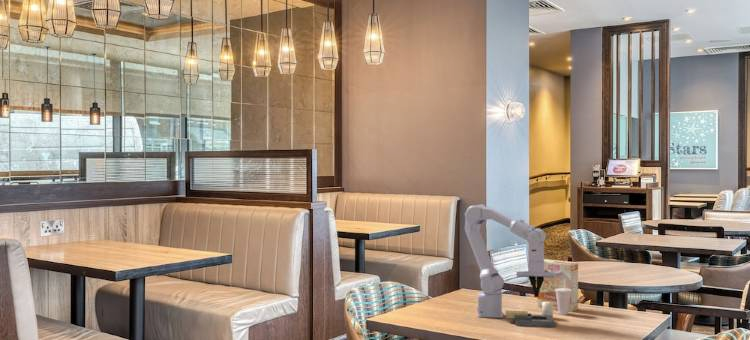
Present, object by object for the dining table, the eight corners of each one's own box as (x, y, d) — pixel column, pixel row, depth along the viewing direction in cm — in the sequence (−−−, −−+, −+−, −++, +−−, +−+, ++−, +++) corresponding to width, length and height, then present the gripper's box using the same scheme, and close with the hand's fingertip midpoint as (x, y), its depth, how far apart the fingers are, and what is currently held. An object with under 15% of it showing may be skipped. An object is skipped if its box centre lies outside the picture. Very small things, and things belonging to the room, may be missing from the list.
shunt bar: (506, 317, 244) (506, 312, 244) (505, 315, 247) (505, 310, 247) (527, 318, 243) (527, 313, 243) (527, 316, 246) (527, 311, 246)
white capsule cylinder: (542, 319, 251) (542, 303, 251) (541, 316, 255) (541, 301, 254) (553, 319, 250) (553, 303, 250) (552, 317, 254) (552, 301, 254)
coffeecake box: (537, 307, 271) (537, 260, 271) (544, 304, 277) (544, 258, 276) (571, 312, 262) (571, 264, 261) (578, 309, 267) (578, 261, 267)
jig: (515, 325, 240) (515, 317, 240) (513, 319, 250) (513, 311, 250) (554, 327, 238) (554, 318, 238) (551, 320, 248) (551, 312, 248)
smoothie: (572, 316, 255) (572, 280, 255) (555, 315, 257) (555, 279, 256) (570, 312, 262) (571, 277, 261) (554, 311, 263) (554, 277, 263)
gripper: (517, 262, 244) (517, 298, 244) (557, 262, 242) (557, 299, 242) (516, 259, 251) (516, 294, 251) (555, 260, 248) (555, 295, 249)
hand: (536, 296), depth 247 cm, fingers closed
